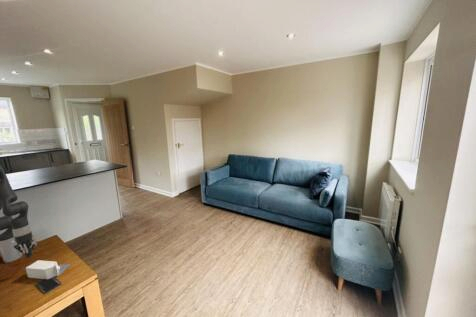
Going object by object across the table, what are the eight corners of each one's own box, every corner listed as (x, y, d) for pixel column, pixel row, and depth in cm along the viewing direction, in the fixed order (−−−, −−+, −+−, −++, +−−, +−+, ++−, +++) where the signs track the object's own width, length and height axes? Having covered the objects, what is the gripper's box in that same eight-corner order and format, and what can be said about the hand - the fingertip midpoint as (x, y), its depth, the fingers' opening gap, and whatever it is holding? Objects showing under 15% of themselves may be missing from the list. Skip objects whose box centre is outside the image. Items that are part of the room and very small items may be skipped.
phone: (51, 275, 125) (61, 283, 118) (51, 276, 125) (62, 284, 118) (34, 284, 118) (44, 293, 111) (35, 285, 119) (45, 294, 111)
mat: (32, 278, 124) (32, 277, 124) (46, 266, 134) (45, 266, 134) (59, 275, 125) (58, 274, 125) (70, 264, 135) (70, 263, 135)
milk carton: (28, 277, 124) (52, 280, 121) (25, 267, 123) (50, 270, 120) (40, 269, 131) (64, 271, 128) (38, 260, 130) (61, 261, 127)
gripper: (4, 237, 119) (12, 262, 122) (28, 235, 120) (34, 259, 123) (17, 230, 126) (24, 254, 130) (39, 228, 127) (45, 252, 131)
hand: (29, 257), depth 126 cm, fingers closed
